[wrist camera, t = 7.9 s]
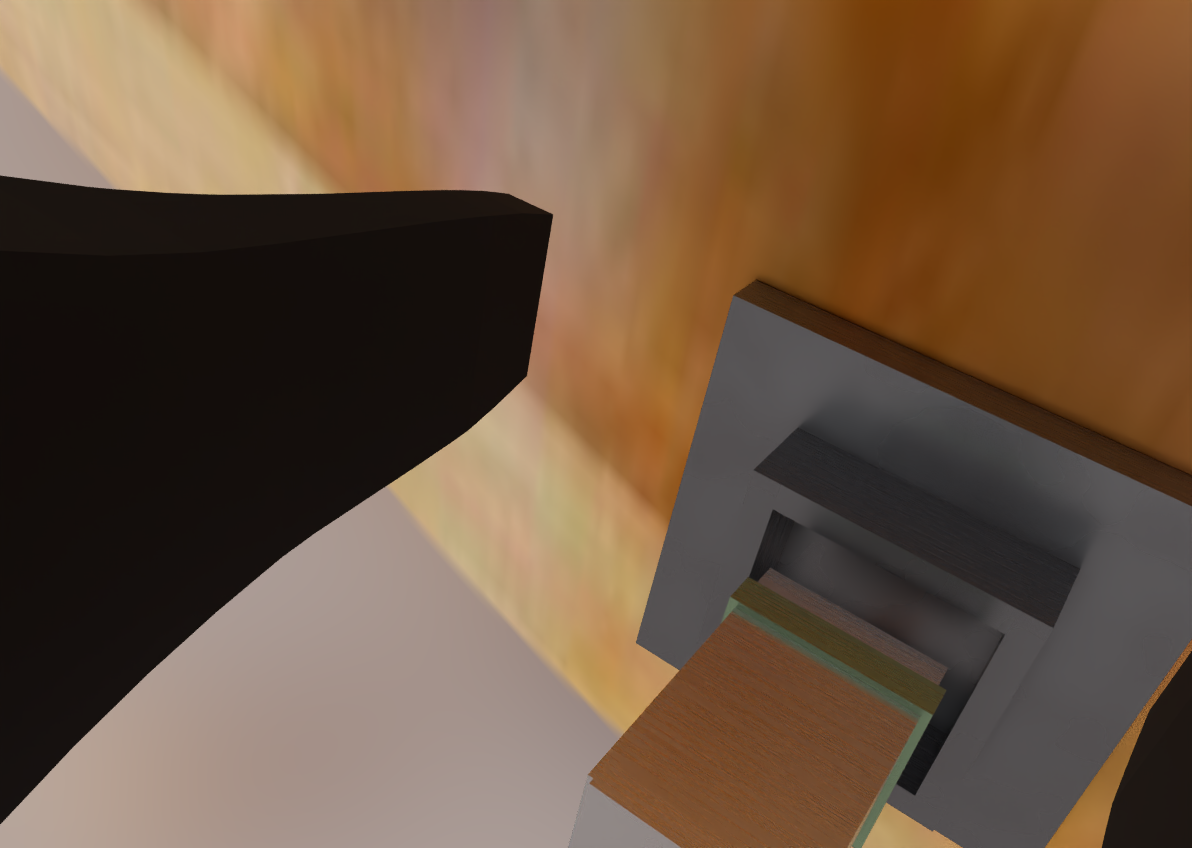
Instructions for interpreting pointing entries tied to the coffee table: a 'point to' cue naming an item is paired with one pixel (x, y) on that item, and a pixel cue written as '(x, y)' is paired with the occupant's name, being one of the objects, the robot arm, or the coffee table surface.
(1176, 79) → the coffee table surface
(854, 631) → the pull-out drawer
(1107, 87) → the coffee table surface
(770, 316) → the grey slotted holder
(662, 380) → the coffee table surface
